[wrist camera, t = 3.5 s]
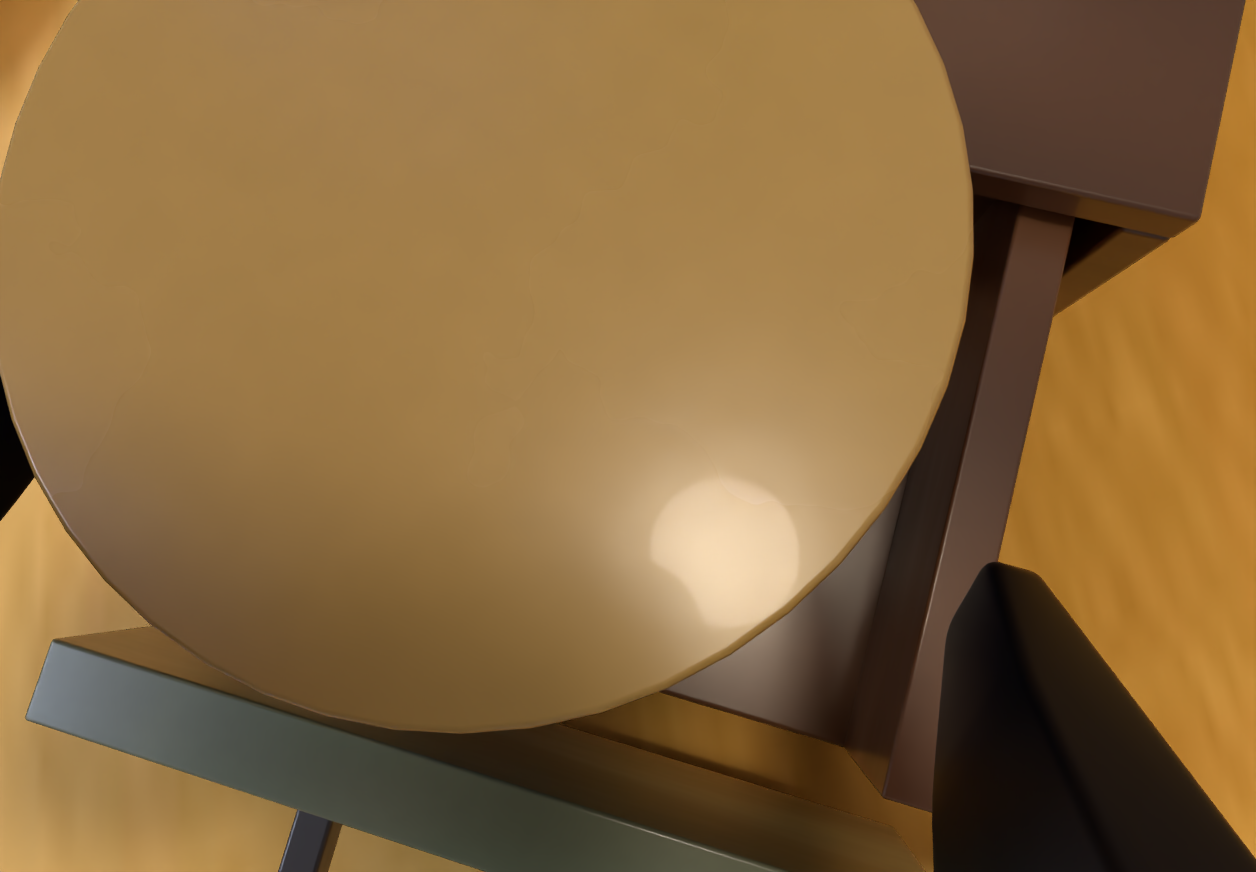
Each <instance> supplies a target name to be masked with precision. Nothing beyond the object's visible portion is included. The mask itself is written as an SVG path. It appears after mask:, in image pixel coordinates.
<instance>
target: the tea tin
mask: <svg viewBox="0 0 1256 872" xmlns="http://www.w3.org/2000/svg"><path fill="white" fill-rule="evenodd" d="M973 258H974V231H973V187H972V181H971V174H970V168H969V162H968V155H967V149H966V142H965V136H964V130H963V124H962V121H961V118H960V115H959V111H958V108H957V105H956V101H955V98H954V95H953V92H952V88H951V85H950V82H949V78H948V75H947V72H946V69H945V65H944V63H943V60H942V58H941V56H940V54H939V52H938V50H937V48H936V45H935V43H934V41H933V39H932V37H931V35H930V33H929V30H928V28H927V26H926V24H925V22H924V20H923V18H922V15H921V13H920V11H919V9H918V7H917V5H916V4H915V2H914V1H913V0H78V2H77V3H76V5H75V6H74V7H73V9H72V10H71V11H70V13H69V14H68V16H67V17H66V19H65V21H64V23H63V25H62V26H61V28H60V30H59V32H58V34H57V35H56V37H55V39H54V41H53V42H52V44H51V46H50V48H49V50H48V51H47V53H46V55H45V57H44V59H43V60H42V62H41V64H40V66H39V68H38V70H37V72H36V75H35V77H34V80H33V82H32V84H31V87H30V89H29V92H28V94H27V97H26V99H25V101H24V104H23V106H22V109H21V111H20V114H19V116H18V118H17V121H16V123H15V127H14V131H13V134H12V138H11V141H10V145H9V149H8V152H7V156H6V160H5V163H4V167H3V170H2V174H1V178H0V376H1V380H2V384H3V388H4V391H5V395H6V399H7V403H8V407H9V411H10V415H11V419H12V422H13V424H14V427H15V429H16V432H17V434H18V437H19V439H20V442H21V444H22V447H23V449H24V452H25V454H26V457H27V459H28V462H29V464H30V467H31V469H32V471H33V474H34V476H35V478H36V480H37V482H38V483H39V485H40V487H41V489H42V490H43V492H44V494H45V496H46V497H47V499H48V501H49V503H50V504H51V506H52V508H53V510H54V511H55V513H56V515H57V516H58V518H59V520H60V522H61V523H62V525H63V527H64V529H65V530H66V532H67V533H68V534H69V536H70V537H71V538H72V539H73V541H74V542H75V543H76V544H77V546H78V547H79V548H80V550H81V551H82V552H83V553H84V555H85V556H86V557H87V559H88V560H89V561H90V562H91V564H92V565H93V566H94V568H95V569H96V570H97V571H98V573H99V574H100V575H101V576H102V578H103V579H104V580H105V581H106V582H107V583H108V584H109V585H110V586H111V587H112V588H113V589H114V590H115V591H116V592H117V593H118V594H119V595H120V596H121V597H122V598H124V599H125V600H126V601H127V602H128V603H129V604H130V605H131V606H132V607H133V608H134V609H135V610H136V611H137V612H138V613H139V614H140V615H141V616H142V617H143V618H144V619H145V620H146V621H147V622H148V623H150V624H151V625H152V626H153V627H155V628H156V629H158V630H159V631H160V632H162V633H163V634H165V635H166V636H167V637H169V638H170V639H172V640H173V641H174V642H176V643H177V644H179V645H180V646H181V647H183V648H184V649H185V650H187V651H188V652H190V653H191V654H192V655H194V656H195V657H197V658H198V659H199V660H201V661H202V662H204V663H205V664H207V665H209V666H211V667H213V668H215V669H216V670H218V671H220V672H222V673H224V674H226V675H228V676H230V677H232V678H234V679H236V680H238V681H239V682H241V683H243V684H245V685H247V686H249V687H251V688H253V689H255V690H257V691H259V692H261V693H262V694H265V695H268V696H271V697H273V698H276V699H279V700H282V701H285V702H288V703H290V704H293V705H296V706H299V707H302V708H305V709H307V710H310V711H313V712H316V713H319V714H322V715H324V716H328V717H333V718H338V719H343V720H348V721H353V722H358V723H363V724H368V725H373V726H378V727H383V728H388V729H393V730H409V731H426V732H443V733H460V734H464V733H476V732H489V731H501V730H514V729H526V728H534V727H539V726H543V725H548V724H553V723H557V722H562V721H566V720H571V719H575V718H580V717H584V716H589V715H593V714H598V713H602V712H605V711H607V710H610V709H613V708H615V707H618V706H621V705H624V704H626V703H629V702H632V701H634V700H637V699H640V698H643V697H645V696H648V695H651V694H653V693H656V692H659V691H662V690H664V689H667V688H669V687H671V686H673V685H675V684H677V683H679V682H680V681H682V680H684V679H686V678H688V677H690V676H692V675H694V674H696V673H697V672H699V671H701V670H703V669H705V668H707V667H709V666H711V665H713V664H714V663H716V662H718V661H720V660H722V659H724V658H726V657H728V656H729V655H731V654H733V653H734V652H735V651H737V650H738V649H740V648H741V647H742V646H744V645H745V644H747V643H748V642H749V641H751V640H752V639H754V638H755V637H756V636H758V635H759V634H760V633H762V632H763V631H765V630H766V629H767V628H769V627H770V626H772V625H773V624H774V623H776V622H777V621H779V620H780V619H781V618H783V617H784V616H786V615H787V614H788V613H790V612H791V611H792V610H793V609H794V608H795V607H796V606H797V605H798V604H799V603H800V602H801V601H802V600H803V599H804V598H805V597H806V596H807V595H809V594H810V593H811V592H812V591H813V590H814V589H815V588H816V587H817V586H818V585H819V584H820V583H821V582H822V581H823V580H824V579H825V578H827V577H828V576H829V575H830V574H831V573H832V572H833V571H834V570H835V569H836V568H837V567H838V566H839V565H840V564H841V563H842V562H843V561H844V559H845V558H846V557H847V556H848V554H849V553H850V552H851V551H852V549H853V548H854V547H855V546H856V544H857V543H858V542H859V541H860V539H861V538H862V537H863V536H864V534H865V533H866V532H867V531H868V529H869V528H870V527H871V526H872V525H873V523H874V522H875V521H876V520H877V518H878V517H879V516H880V515H881V513H882V512H883V511H884V510H885V508H886V506H887V505H888V503H889V501H890V500H891V498H892V496H893V495H894V493H895V491H896V490H897V488H898V486H899V485H900V483H901V481H902V480H903V478H904V476H905V475H906V473H907V471H908V470H909V468H910V466H911V465H912V463H913V461H914V460H915V458H916V456H917V455H918V453H919V451H920V450H921V448H922V445H923V443H924V441H925V438H926V436H927V434H928V431H929V429H930V427H931V424H932V422H933V420H934V417H935V415H936V413H937V410H938V408H939V406H940V403H941V401H942V398H943V396H944V394H945V391H946V389H947V387H948V383H949V380H950V376H951V372H952V369H953V365H954V361H955V358H956V354H957V350H958V347H959V343H960V339H961V336H962V332H963V328H964V325H965V321H966V313H967V305H968V297H969V289H970V281H971V274H972V266H973Z"/></svg>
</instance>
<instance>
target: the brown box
mask: <svg viewBox="0 0 1256 872" xmlns="http://www.w3.org/2000/svg"><path fill="white" fill-rule="evenodd" d="M913 1H914V2H915V4H916V5H917V7H918V9H919V11H920V13H921V15H922V18H923V20H924V22H925V24H926V26H927V28H928V30H929V33H930V35H931V37H932V39H933V41H934V43H935V45H936V48H937V50H938V52H939V54H940V56H941V58H942V60H943V63H944V65H945V69H946V72H947V75H948V78H949V82H950V85H951V88H952V92H953V95H954V98H955V101H956V105H957V108H958V111H959V115H960V118H961V121H962V124H963V130H964V136H965V142H966V149H967V155H968V162H969V168H970V174H971V181H972V187H973V194H976V195H980V196H985V197H989V198H994V199H998V200H1003V201H1007V202H1011V203H1016V204H1020V205H1025V206H1029V207H1034V208H1038V209H1043V210H1047V211H1052V212H1056V213H1060V214H1065V215H1069V216H1074V217H1075V221H1074V225H1073V230H1072V234H1071V239H1070V243H1069V247H1068V252H1067V256H1066V261H1065V265H1064V270H1063V274H1062V279H1061V283H1060V287H1059V292H1058V296H1057V301H1056V305H1055V310H1054V314H1053V317H1054V316H1055V315H1057V314H1058V313H1060V312H1061V311H1063V310H1064V309H1066V308H1067V307H1069V306H1070V305H1072V304H1073V303H1075V302H1076V301H1078V300H1079V299H1081V298H1082V297H1084V296H1085V295H1087V294H1088V293H1090V292H1091V291H1093V290H1094V289H1096V288H1097V287H1099V286H1100V285H1102V284H1103V283H1105V282H1107V281H1108V280H1110V279H1111V278H1113V277H1114V276H1116V275H1117V274H1119V273H1120V272H1122V271H1123V270H1125V269H1126V268H1128V267H1129V266H1131V265H1132V264H1134V263H1135V262H1137V261H1138V260H1140V259H1141V258H1143V257H1144V256H1146V255H1147V254H1149V253H1150V252H1152V251H1153V250H1155V249H1156V248H1158V247H1159V246H1161V245H1162V244H1164V243H1166V242H1167V241H1168V240H1169V238H1171V237H1175V236H1177V235H1178V234H1180V233H1181V232H1183V231H1184V230H1186V229H1187V228H1189V227H1190V226H1192V225H1193V224H1195V223H1196V222H1198V220H1199V219H1200V217H1201V212H1202V207H1203V203H1204V198H1205V193H1206V188H1207V183H1208V179H1209V174H1210V169H1211V164H1212V159H1213V154H1214V150H1215V145H1216V140H1217V135H1218V130H1219V126H1220V121H1221V116H1222V111H1223V106H1224V101H1225V97H1226V92H1227V87H1228V82H1229V77H1230V73H1231V68H1232V63H1233V58H1234V53H1235V48H1236V44H1237V39H1238V34H1239V29H1240V24H1241V20H1242V15H1243V10H1244V5H1245V0H913Z"/></svg>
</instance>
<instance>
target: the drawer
mask: <svg viewBox="0 0 1256 872" xmlns="http://www.w3.org/2000/svg"><path fill="white" fill-rule="evenodd" d="M1074 221H1075V217H1074V216H1069V215H1065V214H1060V213H1056V212H1052V211H1047V210H1043V209H1038V208H1034V207H1029V206H1025V205H1020V204H1016V203H1011V202H1007V201H1003V200H998V199H994V198H989V197H985V196H980V195H976V194H973V231H974V258H973V266H972V274H971V281H970V289H969V297H968V305H967V313H966V321H965V325H964V328H963V332H962V336H961V339H960V343H959V347H958V350H957V354H956V358H955V361H954V365H953V369H952V372H951V376H950V380H949V383H948V387H947V389H946V391H945V394H944V396H943V398H942V401H941V403H940V406H939V408H938V410H937V413H936V415H935V417H934V420H933V422H932V424H931V427H930V429H929V431H928V434H927V436H926V438H925V441H924V443H923V445H922V448H921V450H920V451H919V453H918V455H917V456H916V458H915V460H914V461H913V463H912V465H911V466H910V468H909V470H908V471H907V473H906V475H905V476H904V478H903V480H902V481H901V483H900V485H899V486H898V488H897V490H896V491H895V493H894V495H893V496H892V498H891V500H890V501H889V503H888V505H887V506H886V508H885V510H884V511H883V512H882V513H881V515H880V516H879V517H878V518H877V520H876V521H875V522H874V523H873V525H872V526H871V527H870V528H869V529H868V531H867V532H866V533H865V534H864V536H863V537H862V538H861V539H860V541H859V542H858V543H857V544H856V546H855V547H854V548H853V549H852V551H851V552H850V553H849V554H848V556H847V557H846V558H845V559H844V561H843V562H842V563H841V564H840V565H839V566H838V567H837V568H836V569H835V570H834V571H833V572H832V573H831V574H830V575H829V576H828V577H827V578H825V579H824V580H823V581H822V582H821V583H820V584H819V585H818V586H817V587H816V588H815V589H814V590H813V591H812V592H811V593H810V594H809V595H807V596H806V597H805V598H804V599H803V600H802V601H801V602H800V603H799V604H798V605H797V606H796V607H795V608H794V609H793V610H792V611H791V612H790V613H788V614H787V615H786V616H784V617H783V618H781V619H780V620H779V621H777V622H776V623H774V624H773V625H772V626H770V627H769V628H767V629H766V630H765V631H763V632H762V633H760V634H759V635H758V636H756V637H755V638H754V639H752V640H751V641H749V642H748V643H747V644H745V645H744V646H742V647H741V648H740V649H738V650H737V651H735V652H734V653H733V654H731V655H729V656H728V657H726V658H724V659H722V660H720V661H718V662H716V663H714V664H713V665H711V666H709V667H707V668H705V669H703V670H701V671H699V672H697V673H696V674H694V675H692V676H690V677H688V678H686V679H684V680H682V681H680V682H679V683H677V684H675V685H673V686H671V687H669V688H667V689H664V690H662V691H659V692H660V693H664V694H667V695H670V696H674V697H677V698H680V699H684V700H687V701H690V702H694V703H697V704H700V705H704V706H707V707H710V708H714V709H717V710H721V711H724V712H727V713H731V714H734V715H737V716H741V717H744V718H747V719H751V720H754V721H757V722H761V723H764V724H767V725H771V726H774V727H777V728H781V729H784V730H787V731H791V732H794V733H797V734H801V735H804V736H808V737H811V738H814V739H818V740H821V741H824V742H828V743H831V744H834V745H838V746H841V747H844V748H845V750H846V751H847V752H848V754H849V755H850V756H851V757H852V759H853V760H854V761H855V763H856V764H857V765H858V766H859V768H860V769H861V770H862V772H863V773H864V774H865V775H866V777H867V778H868V779H869V780H870V782H871V783H872V784H873V786H874V787H875V788H876V789H877V791H878V792H879V793H880V795H881V796H882V797H883V798H885V799H888V800H891V801H895V802H898V803H901V804H904V805H908V806H911V807H914V808H918V809H921V810H924V811H927V812H931V813H932V793H933V777H934V765H935V753H936V742H937V731H938V719H939V708H940V697H941V685H942V674H943V663H944V651H945V642H946V636H947V632H948V629H949V625H950V623H951V620H952V618H953V616H954V615H955V613H956V611H957V610H958V608H959V606H960V604H961V603H962V601H963V599H964V598H965V596H966V594H967V592H968V591H969V589H970V587H971V585H972V584H973V582H974V580H975V579H976V577H977V575H978V573H979V572H980V570H981V569H982V568H983V567H984V566H985V565H986V564H987V563H991V562H998V558H999V554H1000V549H1001V545H1002V540H1003V536H1004V532H1005V527H1006V523H1007V518H1008V514H1009V509H1010V505H1011V501H1012V496H1013V492H1014V487H1015V483H1016V478H1017V474H1018V469H1019V465H1020V461H1021V456H1022V452H1023V447H1024V443H1025V438H1026V434H1027V429H1028V425H1029V421H1030V416H1031V412H1032V407H1033V403H1034V398H1035V394H1036V390H1037V385H1038V381H1039V376H1040V372H1041V367H1042V363H1043V358H1044V354H1045V350H1046V345H1047V341H1048V336H1049V332H1050V327H1051V323H1052V319H1053V314H1054V310H1055V305H1056V301H1057V296H1058V292H1059V287H1060V283H1061V279H1062V274H1063V270H1064V265H1065V261H1066V256H1067V252H1068V247H1069V243H1070V239H1071V234H1072V230H1073V225H1074ZM25 719H26V720H27V721H30V722H33V723H36V724H39V725H42V726H46V727H49V728H52V729H55V730H58V731H61V732H64V733H67V734H70V735H73V736H76V737H79V738H82V739H85V740H88V741H91V742H94V743H97V744H100V745H103V746H106V747H109V748H112V749H115V750H118V751H121V752H124V753H127V754H130V755H133V756H136V757H139V758H142V759H146V760H149V761H152V762H155V763H158V764H161V765H164V766H167V767H170V768H173V769H176V770H179V771H182V772H185V773H188V774H191V775H194V776H197V777H200V778H203V779H206V780H209V781H212V782H215V783H218V784H221V785H224V786H227V787H230V788H233V789H236V790H239V791H243V792H246V793H249V794H252V795H255V796H258V797H261V798H264V799H267V800H270V801H273V802H276V803H279V804H282V805H285V806H288V807H291V808H294V809H297V812H296V815H295V818H294V822H293V825H292V828H291V831H290V835H289V838H288V841H287V844H286V848H285V851H284V854H283V857H282V861H281V864H280V867H279V870H278V872H328V870H329V867H330V863H331V860H332V857H333V854H334V850H335V847H336V844H337V840H338V837H339V834H340V830H341V827H342V824H343V825H346V826H349V827H352V828H355V829H358V830H361V831H364V832H367V833H370V834H373V835H376V836H379V837H382V838H385V839H388V840H391V841H394V842H397V843H400V844H403V845H406V846H409V847H412V848H415V849H418V850H421V851H424V852H427V853H430V854H433V855H436V856H440V857H443V858H446V859H449V860H452V861H455V862H458V863H461V864H464V865H467V866H470V867H473V868H476V869H479V870H482V871H485V872H926V871H925V870H924V868H923V867H922V866H921V864H920V863H919V862H918V860H917V859H916V857H915V856H914V855H913V853H912V852H911V851H910V849H909V848H908V847H907V845H906V844H905V842H904V841H903V840H902V838H901V837H900V836H899V834H898V833H897V832H896V830H895V829H894V828H893V827H892V826H889V825H886V824H883V823H879V822H876V821H873V820H870V819H866V818H863V817H860V816H857V815H853V814H850V813H847V812H843V811H840V810H837V809H834V808H830V807H827V806H824V805H821V804H817V803H814V802H811V801H808V800H804V799H801V798H798V797H795V796H791V795H788V794H785V793H782V792H778V791H775V790H772V789H769V788H765V787H762V786H759V785H756V784H752V783H749V782H746V781H743V780H739V779H736V778H733V777H730V776H726V775H723V774H720V773H716V772H713V771H710V770H707V769H703V768H700V767H697V766H694V765H690V764H687V763H684V762H681V761H677V760H674V759H671V758H668V757H664V756H661V755H658V754H655V753H651V752H648V751H645V750H642V749H638V748H635V747H632V746H629V745H625V744H622V743H619V742H616V741H612V740H609V739H606V738H603V737H599V736H596V735H593V734H590V733H586V732H583V731H580V730H576V729H573V728H570V727H567V726H563V725H560V724H557V723H553V724H548V725H543V726H539V727H534V728H526V729H514V730H501V731H489V732H476V733H464V734H460V733H443V732H426V731H409V730H393V729H388V728H383V727H378V726H373V725H368V724H363V723H358V722H353V721H348V720H343V719H338V718H333V717H328V716H324V715H322V714H319V713H316V712H313V711H310V710H307V709H305V708H302V707H299V706H296V705H293V704H290V703H288V702H285V701H282V700H279V699H276V698H273V697H271V696H268V695H265V694H262V693H261V692H259V691H257V690H255V689H253V688H251V687H249V686H247V685H245V684H243V683H241V682H239V681H238V680H236V679H234V678H232V677H230V676H228V675H226V674H224V673H222V672H220V671H218V670H216V669H215V668H213V667H211V666H209V665H207V664H205V663H204V662H202V661H201V660H199V659H198V658H197V657H195V656H194V655H192V654H191V653H190V652H188V651H187V650H185V649H184V648H183V647H181V646H180V645H179V644H177V643H176V642H174V641H173V640H172V639H170V638H169V637H167V636H166V635H165V634H163V633H162V632H160V631H159V630H158V629H156V628H155V627H153V626H149V627H141V628H134V629H126V630H118V631H111V632H103V633H96V634H88V635H81V636H73V637H65V638H58V639H54V640H53V641H52V642H51V644H50V647H49V650H48V653H47V656H46V659H45V662H44V664H43V667H42V670H41V673H40V676H39V679H38V682H37V685H36V687H35V690H34V693H33V696H32V699H31V702H30V705H29V708H28V710H27V713H26V716H25Z"/></svg>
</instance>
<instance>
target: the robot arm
mask: <svg viewBox="0 0 1256 872" xmlns="http://www.w3.org/2000/svg"><path fill="white" fill-rule="evenodd" d="M34 477H35V476H34V474H33V471H32V469H31V467H30V464H29V462H28V459H27V457H26V454H25V452H24V449H23V447H22V444H21V442H20V439H19V437H18V434H17V432H16V429H15V427H14V424H13V422H12V419H11V415H10V411H9V407H8V403H7V399H6V395H5V391H4V388H3V384H2V380H1V376H0V521H1V520H2V518H3V517H4V516H5V515H6V513H7V512H8V511H9V510H10V508H11V507H12V506H13V505H14V503H15V502H16V501H17V500H18V498H19V497H20V496H21V494H22V493H23V492H24V490H25V489H26V488H27V486H28V485H29V484H30V482H31V481H32V480H33V478H34ZM932 833H933V863H934V872H1256V859H1255V857H1254V856H1253V855H1252V853H1251V852H1250V851H1249V849H1248V848H1247V847H1246V846H1245V844H1244V843H1243V842H1242V840H1241V839H1240V838H1239V836H1238V835H1237V834H1236V832H1235V831H1234V830H1233V828H1232V827H1231V826H1230V825H1229V823H1228V822H1227V821H1226V819H1225V818H1224V817H1223V815H1222V814H1221V813H1220V811H1219V810H1218V809H1217V807H1216V806H1215V805H1214V804H1213V802H1212V801H1211V800H1210V798H1209V797H1208V796H1207V794H1206V793H1205V792H1204V790H1203V789H1202V788H1201V787H1200V785H1199V784H1198V783H1197V781H1196V780H1195V779H1194V777H1193V776H1192V775H1191V773H1190V772H1189V771H1188V769H1187V768H1186V767H1185V766H1184V764H1183V763H1182V762H1181V760H1180V759H1179V758H1178V756H1177V755H1176V754H1175V752H1174V751H1173V750H1172V748H1171V747H1170V746H1169V745H1168V743H1167V742H1166V741H1165V739H1164V738H1163V737H1162V735H1161V734H1160V733H1159V731H1158V730H1157V729H1156V727H1155V726H1154V725H1153V724H1152V722H1151V721H1150V720H1149V718H1148V717H1147V716H1146V714H1145V713H1144V712H1143V710H1142V709H1141V708H1140V706H1139V705H1138V704H1137V703H1136V701H1135V700H1134V699H1133V697H1132V696H1131V695H1130V693H1129V692H1128V691H1127V689H1126V688H1125V687H1124V686H1123V684H1122V683H1121V682H1120V680H1119V679H1118V678H1117V676H1116V675H1115V674H1114V672H1113V671H1112V670H1111V668H1110V667H1109V666H1108V665H1107V663H1106V662H1105V661H1104V659H1103V658H1102V657H1101V655H1100V654H1099V653H1098V651H1097V650H1096V649H1095V647H1094V646H1093V645H1092V644H1091V642H1090V641H1089V640H1088V638H1087V637H1086V636H1085V634H1084V633H1083V632H1082V630H1081V629H1080V628H1079V626H1078V625H1077V624H1076V623H1075V621H1074V620H1073V619H1072V617H1071V616H1070V615H1069V613H1068V612H1067V611H1066V609H1065V608H1064V607H1063V605H1062V604H1061V603H1060V602H1059V600H1058V599H1057V598H1056V596H1055V595H1054V594H1053V592H1052V591H1051V590H1050V588H1049V587H1048V586H1047V585H1046V583H1045V582H1044V581H1043V580H1042V578H1041V577H1040V576H1039V575H1037V574H1036V573H1034V572H1032V571H1029V570H1025V569H1022V568H1018V567H1014V566H1011V565H1007V564H1003V563H1000V562H991V563H987V564H986V565H985V566H984V567H983V568H982V569H981V570H980V572H979V573H978V575H977V577H976V579H975V580H974V582H973V584H972V585H971V587H970V589H969V591H968V592H967V594H966V596H965V598H964V599H963V601H962V603H961V604H960V606H959V608H958V610H957V611H956V613H955V615H954V616H953V618H952V620H951V623H950V625H949V629H948V632H947V636H946V642H945V651H944V663H943V674H942V685H941V697H940V708H939V719H938V731H937V742H936V753H935V765H934V777H933V793H932Z"/></svg>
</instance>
